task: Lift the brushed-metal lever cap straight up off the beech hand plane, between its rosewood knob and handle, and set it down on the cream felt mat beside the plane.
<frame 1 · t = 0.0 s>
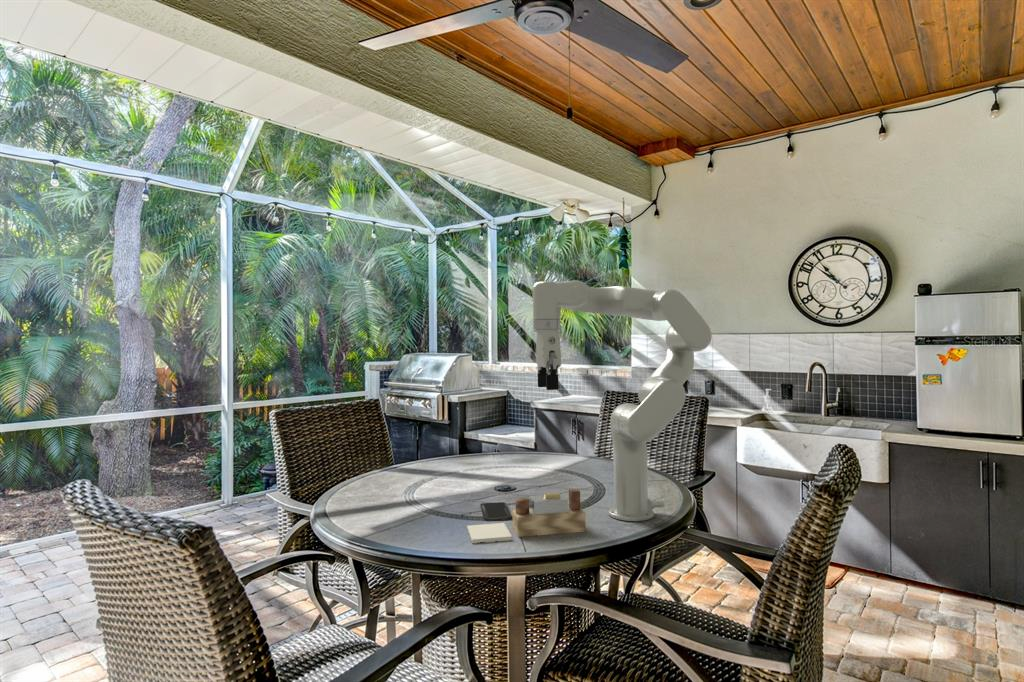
hand: (547, 388, 160), 37 cm above the table, tool pointing down, fingers open, 9 cm apart
phone: (495, 514, 169), on the table
felt mat: (488, 534, 149), on the table
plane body: (548, 529, 152), on the table
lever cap: (548, 510, 152), point 5 cm above the table, touching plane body
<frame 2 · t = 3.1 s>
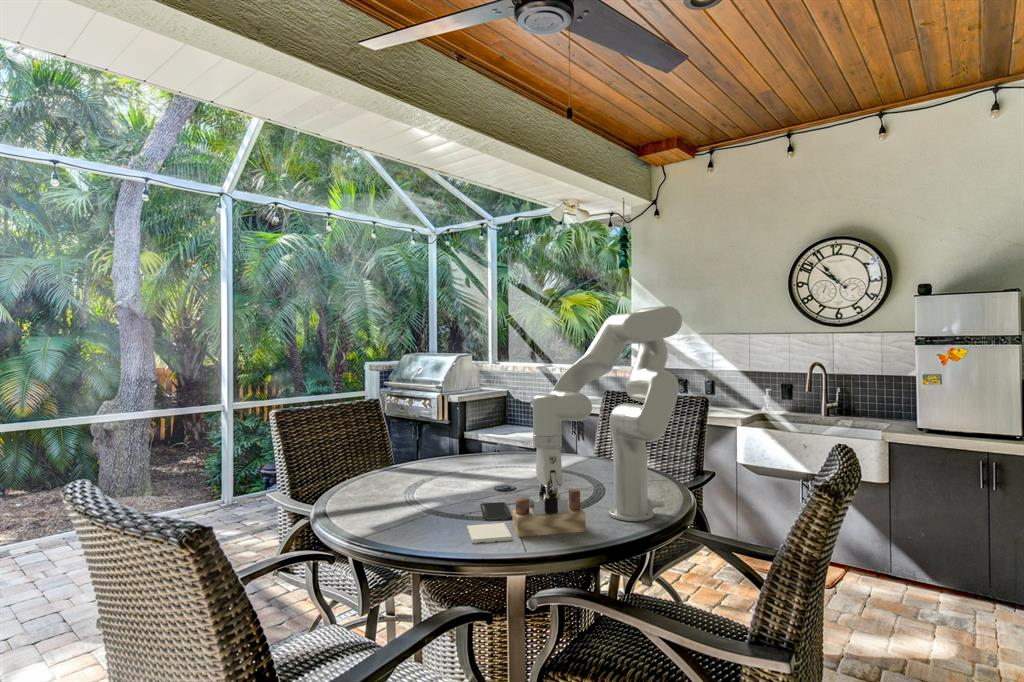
hand: (548, 509, 152), 6 cm above the table, tool pointing down, fingers closed on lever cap, 5 cm apart
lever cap: (548, 510, 152), point 5 cm above the table, touching gripper, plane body
everything else where it was.
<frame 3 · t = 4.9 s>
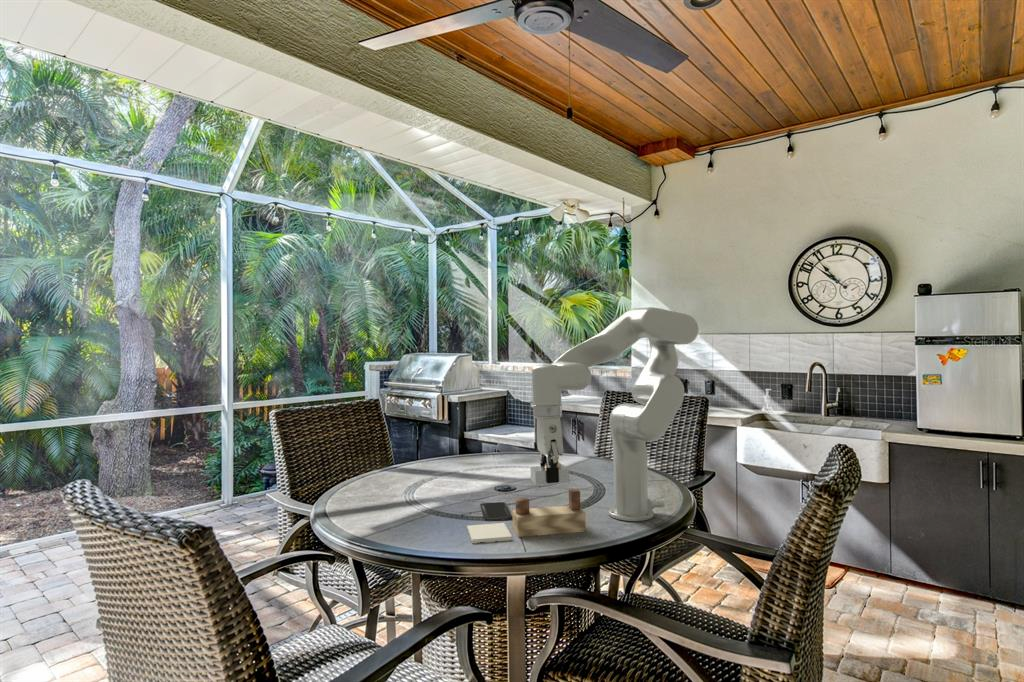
hand: (549, 479, 153), 13 cm above the table, tool pointing down, fingers closed on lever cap, 5 cm apart
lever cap: (549, 481, 153), point 13 cm above the table, touching gripper
everything else where it was.
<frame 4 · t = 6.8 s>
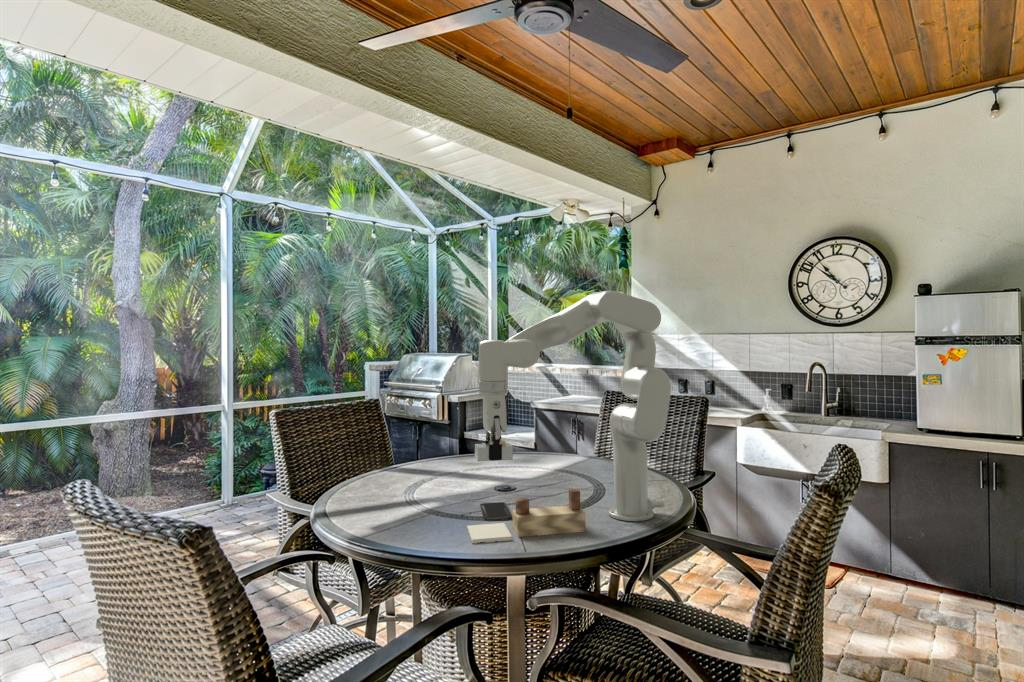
hand: (493, 456, 149), 20 cm above the table, tool pointing down, fingers closed on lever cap, 5 cm apart
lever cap: (493, 458, 149), point 20 cm above the table, touching gripper
everything else where it was.
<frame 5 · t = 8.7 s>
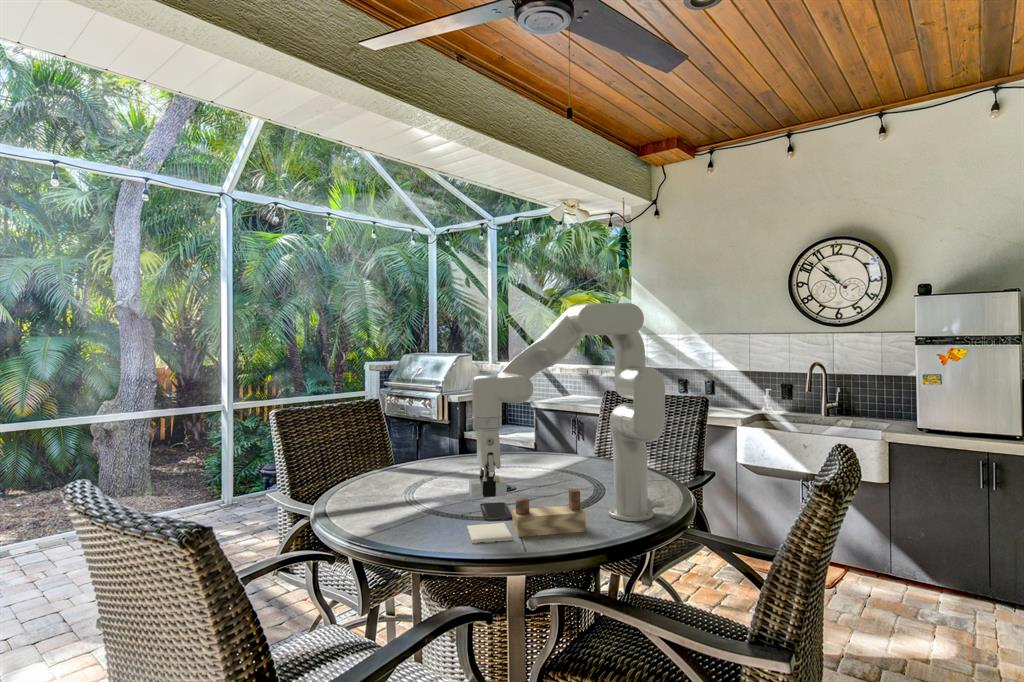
hand: (487, 492, 149), 11 cm above the table, tool pointing down, fingers closed on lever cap, 5 cm apart
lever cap: (487, 494, 149), point 10 cm above the table, touching gripper
everything else where it was.
when the fingers open (3 cm above the table, at t = 10.6 s): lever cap drops 1 cm, resting on felt mat.
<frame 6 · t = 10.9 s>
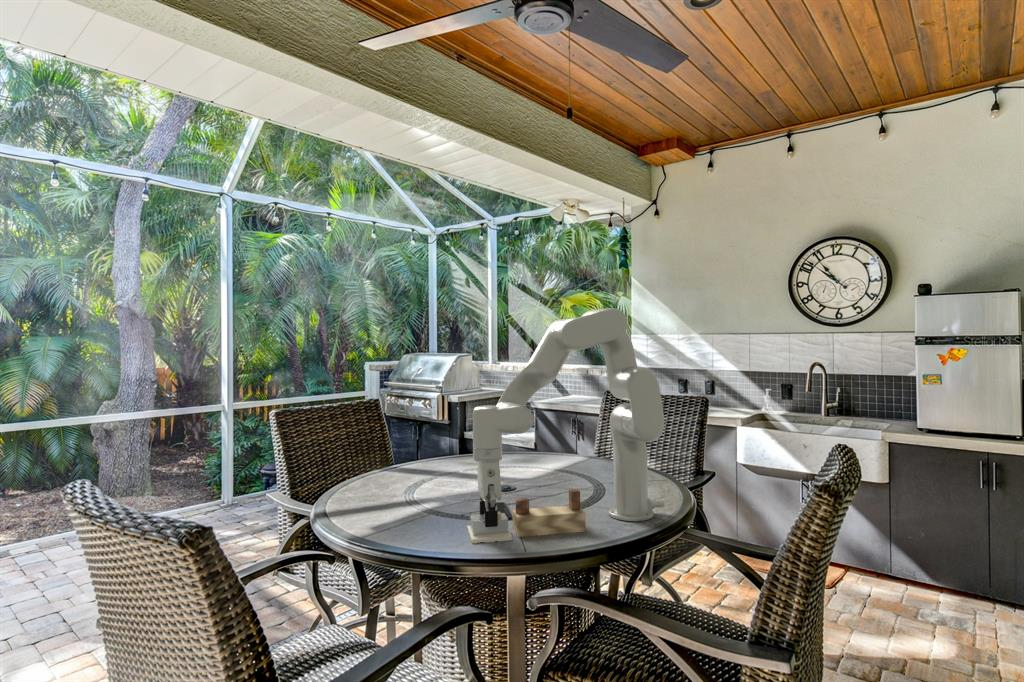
hand: (488, 520, 149), 4 cm above the table, tool pointing down, fingers open, 8 cm apart
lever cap: (489, 530, 149), point 1 cm above the table, touching felt mat
everything else where it was.
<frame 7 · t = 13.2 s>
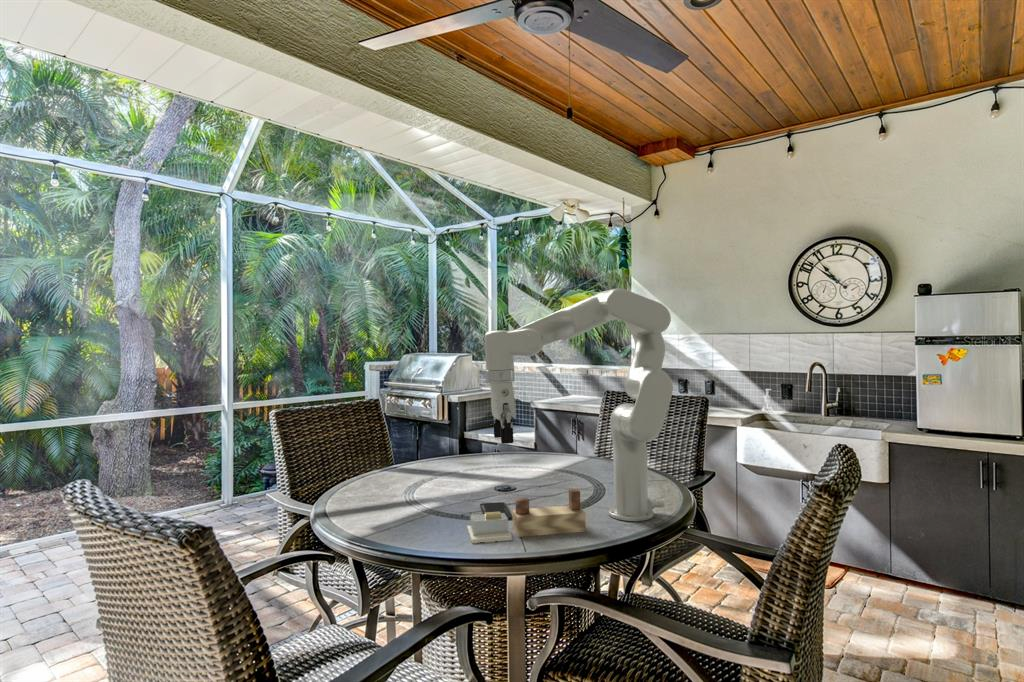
hand: (503, 440, 155), 23 cm above the table, tool pointing down, fingers open, 9 cm apart
nothing on the table moved.
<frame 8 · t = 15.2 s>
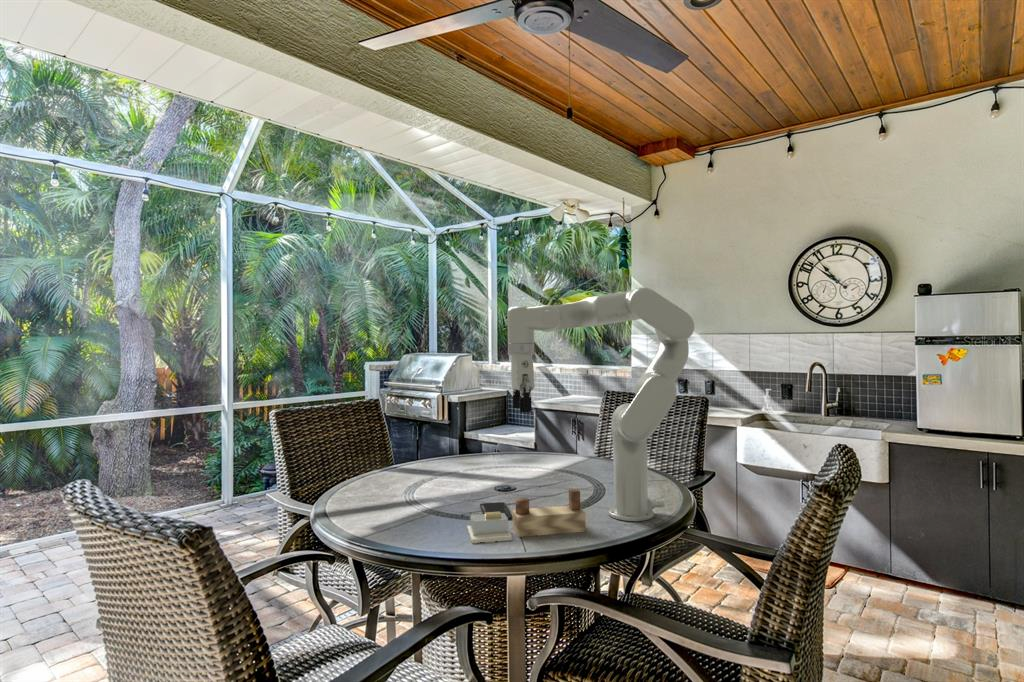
hand: (521, 409, 164), 30 cm above the table, tool pointing down, fingers open, 9 cm apart
nothing on the table moved.
at the end: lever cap 0.1 cm off-centre on the felt mat, point 1.0 cm above the felt mat's base; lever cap tilted 0°; the gripper is holding nothing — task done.
